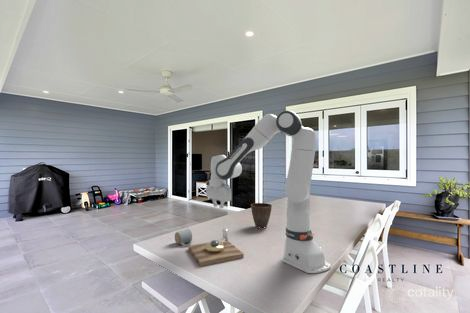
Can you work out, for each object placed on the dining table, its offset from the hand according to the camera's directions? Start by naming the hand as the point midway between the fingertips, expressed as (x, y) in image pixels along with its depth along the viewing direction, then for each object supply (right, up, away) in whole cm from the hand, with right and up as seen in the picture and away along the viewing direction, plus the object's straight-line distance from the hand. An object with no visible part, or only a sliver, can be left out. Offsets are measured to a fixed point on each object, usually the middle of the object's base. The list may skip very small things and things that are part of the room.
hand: (218, 207), depth 129 cm
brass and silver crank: (+1, -19, -10) cm, 21 cm away
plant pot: (+28, -22, +33) cm, 49 cm away
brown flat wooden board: (-1, -21, -13) cm, 24 cm away
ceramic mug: (-19, -22, +1) cm, 29 cm away
